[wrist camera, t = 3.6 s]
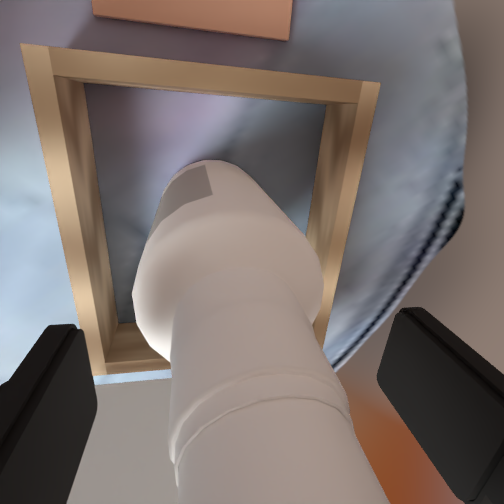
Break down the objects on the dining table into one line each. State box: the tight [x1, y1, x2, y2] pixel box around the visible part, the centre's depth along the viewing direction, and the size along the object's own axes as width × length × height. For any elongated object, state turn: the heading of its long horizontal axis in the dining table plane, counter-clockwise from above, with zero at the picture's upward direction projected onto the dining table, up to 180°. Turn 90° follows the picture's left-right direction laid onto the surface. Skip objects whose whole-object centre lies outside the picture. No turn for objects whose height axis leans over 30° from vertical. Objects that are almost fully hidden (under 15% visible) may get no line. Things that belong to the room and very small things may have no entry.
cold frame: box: [20, 43, 381, 376], centre depth 19 cm, size 18×16×4 cm
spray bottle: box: [132, 160, 390, 504], centre depth 12 cm, size 7×7×18 cm
